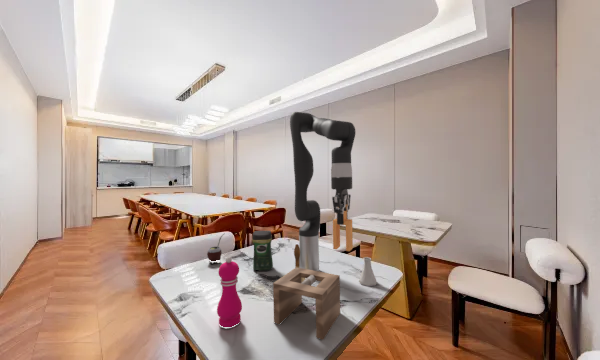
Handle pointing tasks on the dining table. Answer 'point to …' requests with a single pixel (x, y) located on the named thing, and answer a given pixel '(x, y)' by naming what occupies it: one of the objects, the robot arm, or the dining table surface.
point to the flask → (367, 274)
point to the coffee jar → (262, 250)
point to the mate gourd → (214, 252)
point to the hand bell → (297, 258)
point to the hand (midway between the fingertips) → (342, 223)
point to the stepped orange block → (348, 233)
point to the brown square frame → (293, 289)
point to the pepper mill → (229, 295)
